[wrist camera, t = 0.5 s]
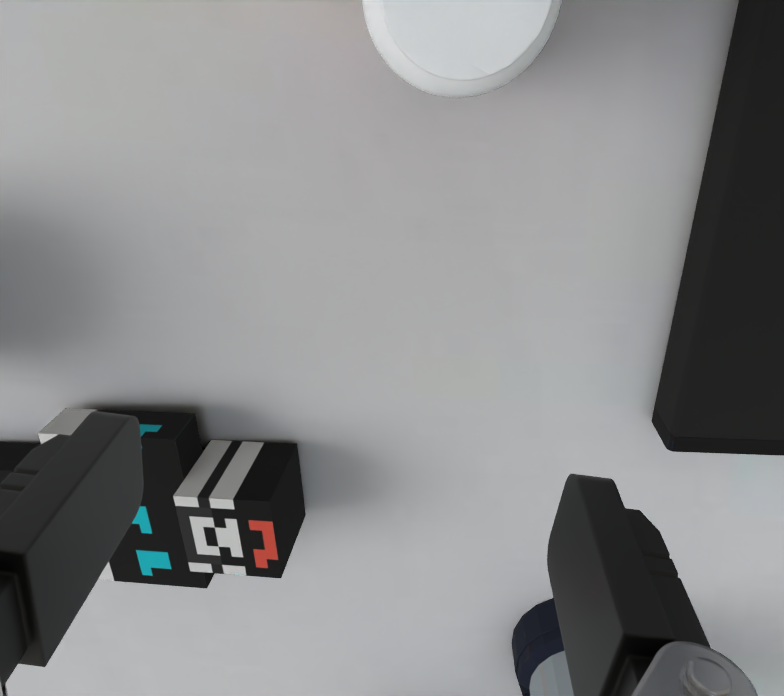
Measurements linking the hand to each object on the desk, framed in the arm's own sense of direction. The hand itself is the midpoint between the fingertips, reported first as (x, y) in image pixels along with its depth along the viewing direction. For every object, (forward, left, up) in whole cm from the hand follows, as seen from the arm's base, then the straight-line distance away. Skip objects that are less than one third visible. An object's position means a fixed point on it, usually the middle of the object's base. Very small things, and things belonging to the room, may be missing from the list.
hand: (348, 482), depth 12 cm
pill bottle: (-9, +2, -21) cm, 23 cm away
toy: (+17, -14, -21) cm, 31 cm away
